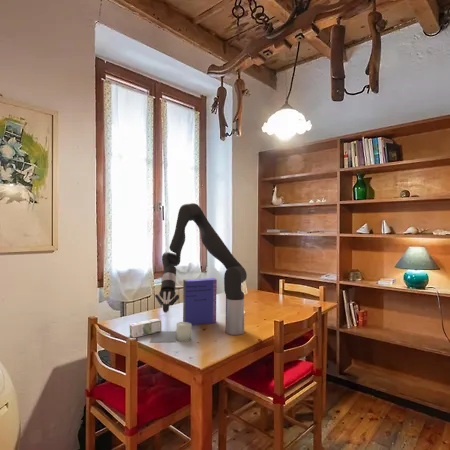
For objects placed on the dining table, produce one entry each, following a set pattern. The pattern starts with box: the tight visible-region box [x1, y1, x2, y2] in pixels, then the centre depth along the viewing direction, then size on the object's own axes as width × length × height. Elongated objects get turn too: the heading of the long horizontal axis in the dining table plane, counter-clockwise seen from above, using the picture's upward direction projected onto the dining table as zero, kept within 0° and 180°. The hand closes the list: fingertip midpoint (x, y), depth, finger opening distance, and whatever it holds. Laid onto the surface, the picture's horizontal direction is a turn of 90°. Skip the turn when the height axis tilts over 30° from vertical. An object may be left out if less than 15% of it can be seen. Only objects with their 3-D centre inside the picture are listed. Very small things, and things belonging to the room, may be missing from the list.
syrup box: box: [129, 318, 162, 338], centre depth 168 cm, size 6×6×14 cm
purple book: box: [182, 277, 218, 326], centre depth 187 cm, size 17×5×24 cm, turn 111°
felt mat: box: [149, 330, 178, 343], centre depth 164 cm, size 12×15×1 cm
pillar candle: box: [175, 321, 193, 343], centre depth 162 cm, size 7×7×7 cm
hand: (165, 311), depth 173 cm, fingers closed
